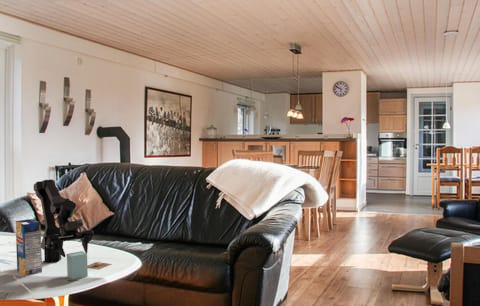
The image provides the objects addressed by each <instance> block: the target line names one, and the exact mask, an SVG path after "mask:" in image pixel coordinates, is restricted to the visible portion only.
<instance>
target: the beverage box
mask: <svg viewBox="0 0 480 306" xmlns="http://www.w3.org/2000/svg"><path fill="white" fill-rule="evenodd" d="M41 226H42V225H41V221H38V220H36V219H33V218H28V219H21V220H15V245H16V269H17V270H16V271H17V272H18V273H20V274H23V275H24V276H29V275H33V274H39V273H43V258H42V256H43V255H42V248H41V242H42V231H41V229H42V228H41Z"/></svg>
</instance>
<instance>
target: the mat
mask: <svg viewBox="0 0 480 306" xmlns="http://www.w3.org/2000/svg"><path fill="white" fill-rule="evenodd" d="M77 281H79V279H67V282H69V283H72V282H77Z"/></svg>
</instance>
